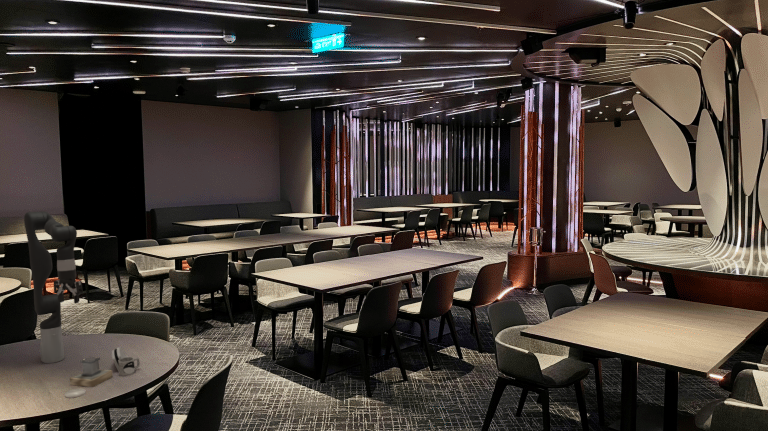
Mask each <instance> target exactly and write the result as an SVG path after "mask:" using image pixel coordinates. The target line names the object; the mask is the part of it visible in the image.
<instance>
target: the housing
mask: <svg viewBox="0 0 768 431" xmlns="http://www.w3.org/2000/svg"><path fill="white" fill-rule="evenodd" d="M100 360H101V357H98V356H89V357H88V356H87V357H86V358H83V359H82V360H80V364H82V372H83V374H81V376H89V377H92V376H94V375H96V374H98V373H100V372H101V370H102V369H100V363H99V361H100ZM99 369H100V370H99Z"/></svg>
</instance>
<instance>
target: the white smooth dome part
mask: <svg viewBox="0 0 768 431" xmlns="http://www.w3.org/2000/svg"><path fill="white" fill-rule="evenodd" d="M86 392H87V390H86V388H80V387H79V388H73V389H69V390H67V391H65V392H64V397H65V398H67V399H73V398H78V397H82V396H84V395H86Z"/></svg>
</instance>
